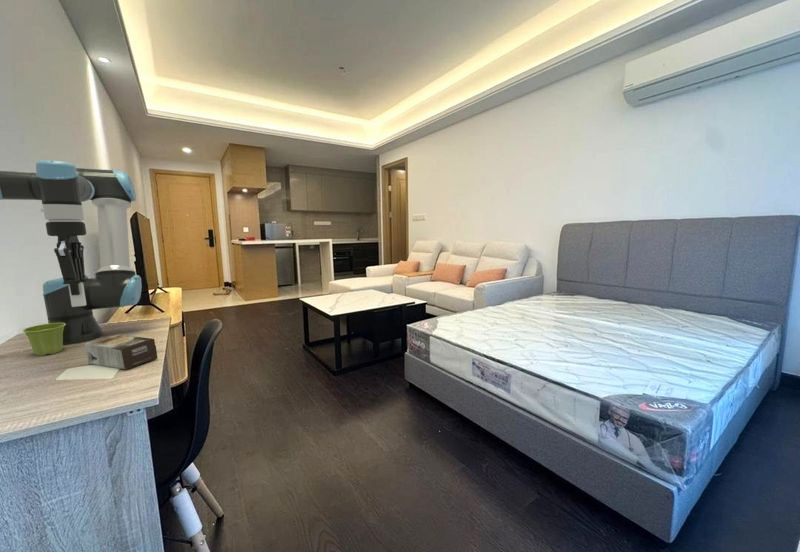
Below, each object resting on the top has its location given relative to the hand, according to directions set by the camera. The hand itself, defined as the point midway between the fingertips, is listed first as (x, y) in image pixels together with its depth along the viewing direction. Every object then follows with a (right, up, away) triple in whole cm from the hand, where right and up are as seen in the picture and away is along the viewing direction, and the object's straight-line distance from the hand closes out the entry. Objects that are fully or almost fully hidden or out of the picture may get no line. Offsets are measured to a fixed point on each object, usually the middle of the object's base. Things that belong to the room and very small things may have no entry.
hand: (79, 305), depth 92 cm
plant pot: (-23, -17, +14) cm, 32 cm away
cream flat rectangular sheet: (+7, -19, -5) cm, 20 cm away
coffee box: (0, -14, +7) cm, 15 cm away
